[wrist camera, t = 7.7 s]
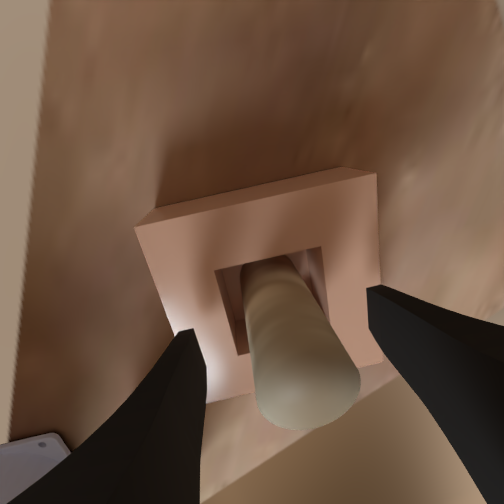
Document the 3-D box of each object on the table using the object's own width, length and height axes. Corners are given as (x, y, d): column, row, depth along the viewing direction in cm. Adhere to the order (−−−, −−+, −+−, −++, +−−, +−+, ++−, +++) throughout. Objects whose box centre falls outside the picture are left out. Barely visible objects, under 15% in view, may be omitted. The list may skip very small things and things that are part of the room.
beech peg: (246, 306, 16) (267, 440, 9) (233, 257, 15) (246, 363, 8) (299, 294, 16) (363, 416, 9) (291, 244, 15) (357, 337, 8)
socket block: (204, 357, 18) (200, 405, 15) (154, 208, 15) (133, 227, 11) (354, 322, 18) (383, 361, 15) (341, 166, 15) (376, 173, 11)
